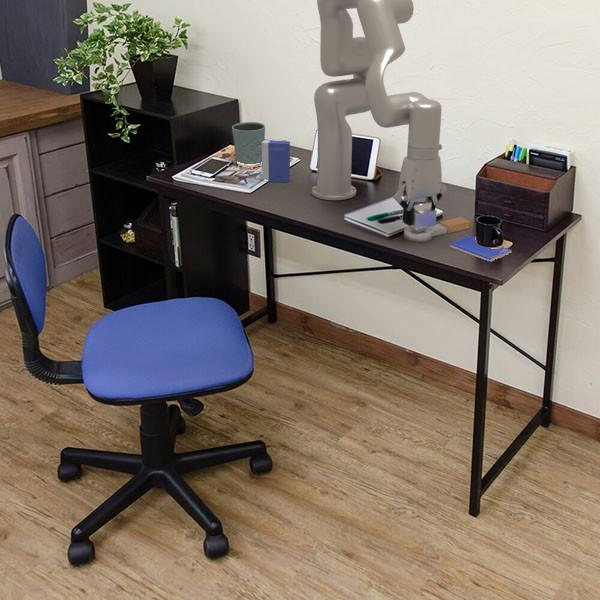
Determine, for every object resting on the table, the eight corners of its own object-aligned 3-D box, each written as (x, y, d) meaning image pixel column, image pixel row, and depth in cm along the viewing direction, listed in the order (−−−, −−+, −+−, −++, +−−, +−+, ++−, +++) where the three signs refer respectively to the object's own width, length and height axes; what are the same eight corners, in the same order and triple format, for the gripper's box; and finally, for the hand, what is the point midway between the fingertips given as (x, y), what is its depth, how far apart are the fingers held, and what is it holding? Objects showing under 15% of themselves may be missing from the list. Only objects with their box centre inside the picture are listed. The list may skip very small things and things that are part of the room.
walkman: (290, 179, 273) (289, 140, 268) (288, 182, 270) (287, 142, 265) (264, 178, 274) (263, 138, 269) (262, 181, 272) (261, 141, 266)
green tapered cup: (265, 169, 282) (264, 130, 277) (232, 169, 282) (231, 130, 276) (266, 158, 291) (265, 121, 286) (233, 159, 291) (232, 121, 286)
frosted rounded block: (401, 222, 233) (403, 199, 230) (421, 218, 235) (422, 195, 233) (415, 230, 228) (417, 207, 225) (435, 225, 230) (437, 202, 228)
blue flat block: (512, 249, 223) (471, 234, 232) (490, 258, 218) (450, 242, 227) (511, 255, 224) (471, 240, 232) (490, 264, 219) (449, 248, 228)
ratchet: (456, 222, 242) (458, 204, 240) (473, 230, 237) (475, 212, 235) (398, 235, 234) (399, 216, 232) (414, 244, 229) (415, 225, 227)
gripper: (442, 143, 230) (437, 211, 238) (384, 152, 223) (381, 222, 230) (461, 150, 224) (455, 220, 232) (402, 161, 217) (398, 232, 225)
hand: (418, 220), depth 231 cm, fingers closed on frosted rounded block, 6 cm apart
